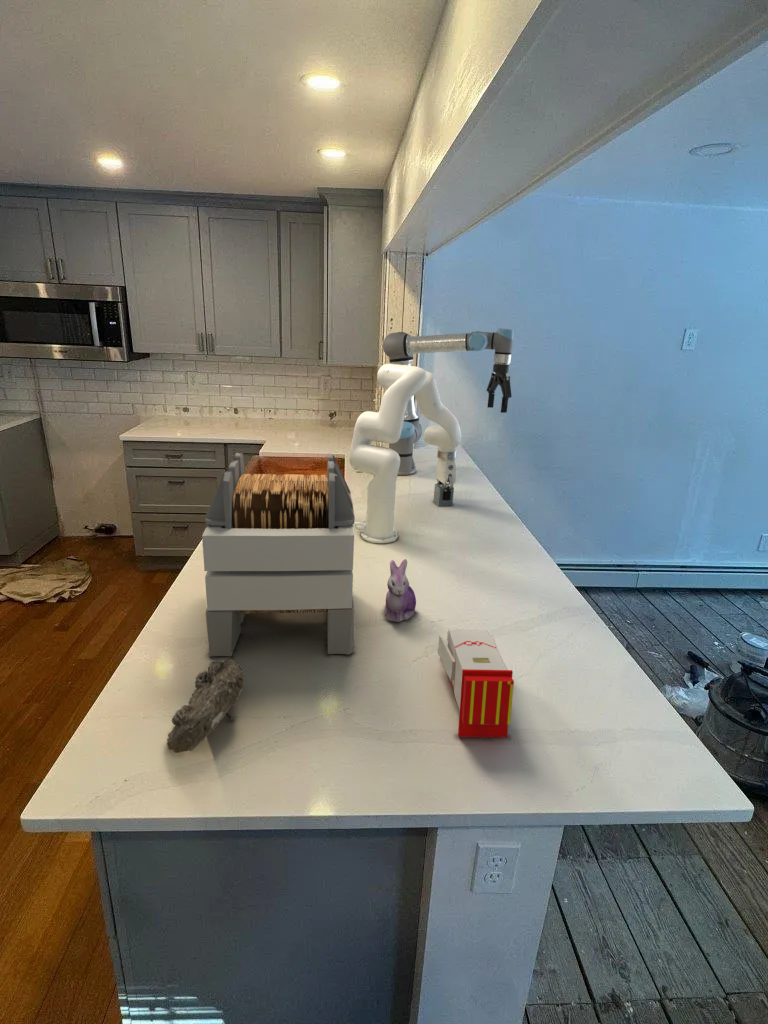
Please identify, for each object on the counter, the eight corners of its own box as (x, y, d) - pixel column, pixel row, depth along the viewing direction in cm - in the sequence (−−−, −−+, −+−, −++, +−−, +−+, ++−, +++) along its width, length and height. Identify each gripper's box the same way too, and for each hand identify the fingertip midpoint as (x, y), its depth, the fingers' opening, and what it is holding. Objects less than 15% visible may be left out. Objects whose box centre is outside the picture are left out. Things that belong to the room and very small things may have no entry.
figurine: (392, 627, 141) (395, 572, 136) (374, 608, 149) (376, 556, 144) (425, 619, 145) (429, 566, 140) (405, 601, 154) (408, 550, 149)
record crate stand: (228, 587, 157) (220, 443, 143) (347, 586, 161) (350, 445, 147) (206, 659, 125) (193, 482, 111) (354, 655, 129) (359, 484, 115)
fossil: (192, 660, 117) (244, 628, 112) (224, 691, 120) (276, 661, 115) (142, 746, 98) (202, 712, 93) (182, 779, 101) (242, 748, 96)
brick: (452, 505, 231) (453, 487, 229) (438, 506, 230) (440, 488, 227) (446, 501, 237) (448, 483, 234) (433, 501, 235) (434, 483, 232)
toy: (488, 613, 130) (523, 677, 101) (484, 667, 133) (517, 744, 104) (435, 612, 130) (455, 676, 101) (432, 666, 133) (451, 743, 103)
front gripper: (464, 460, 220) (460, 504, 226) (447, 449, 235) (443, 490, 241) (446, 460, 217) (442, 505, 224) (430, 450, 233) (427, 491, 239)
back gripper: (522, 366, 250) (517, 414, 257) (496, 361, 272) (491, 405, 280) (507, 366, 248) (502, 414, 255) (482, 360, 270) (478, 405, 278)
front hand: (443, 497), depth 232 cm, fingers closed on brick, 5 cm apart
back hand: (496, 410), depth 267 cm, fingers open, 13 cm apart
